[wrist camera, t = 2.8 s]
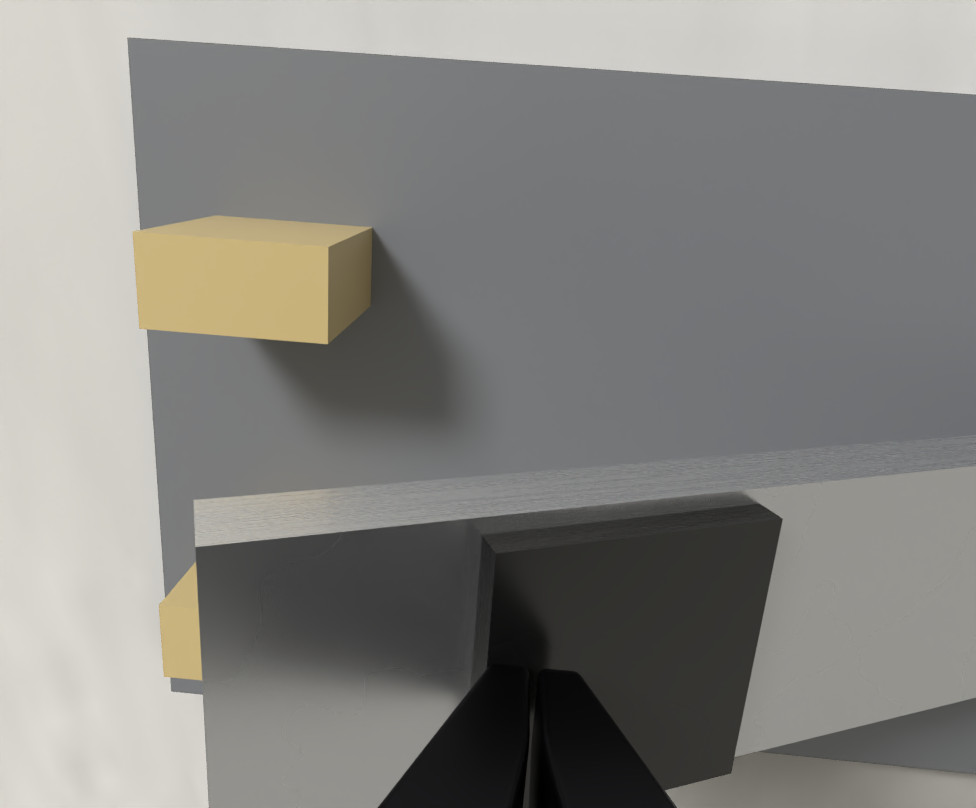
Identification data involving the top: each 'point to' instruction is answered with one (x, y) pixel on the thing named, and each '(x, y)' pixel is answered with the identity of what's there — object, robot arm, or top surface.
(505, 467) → the hinge plate
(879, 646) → the strap
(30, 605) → the top surface
